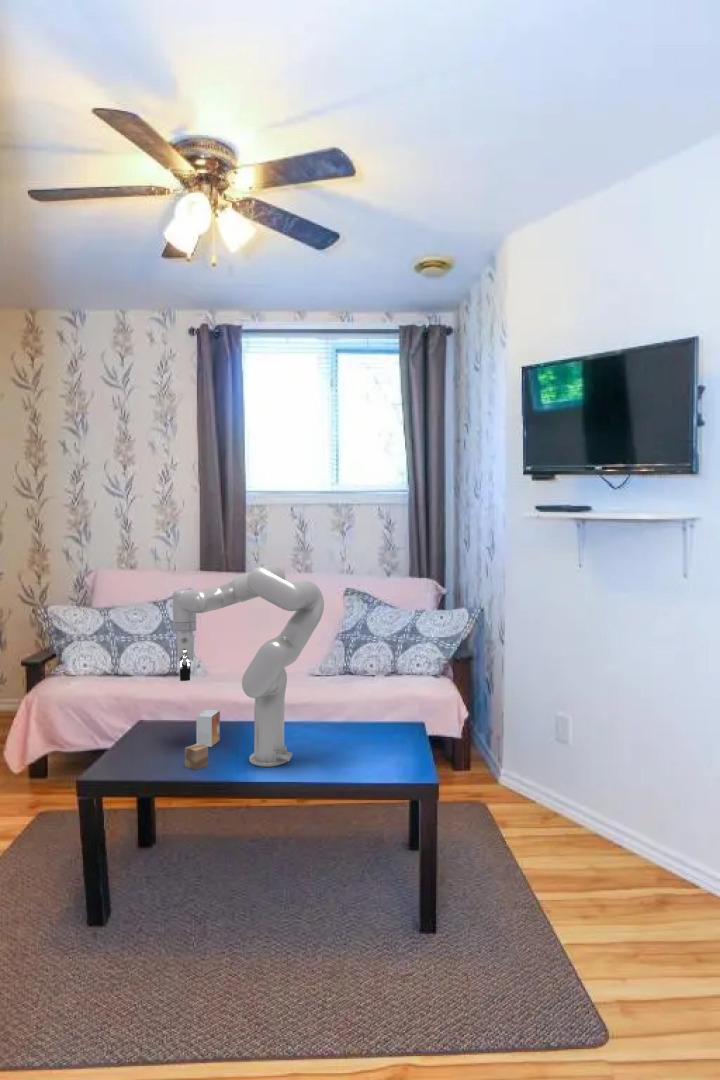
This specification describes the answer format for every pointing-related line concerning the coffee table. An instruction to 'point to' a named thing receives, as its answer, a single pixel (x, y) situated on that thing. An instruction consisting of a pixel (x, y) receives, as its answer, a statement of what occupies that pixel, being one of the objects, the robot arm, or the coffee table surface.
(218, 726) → the small box
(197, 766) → the walnut block
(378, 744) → the coffee table surface
